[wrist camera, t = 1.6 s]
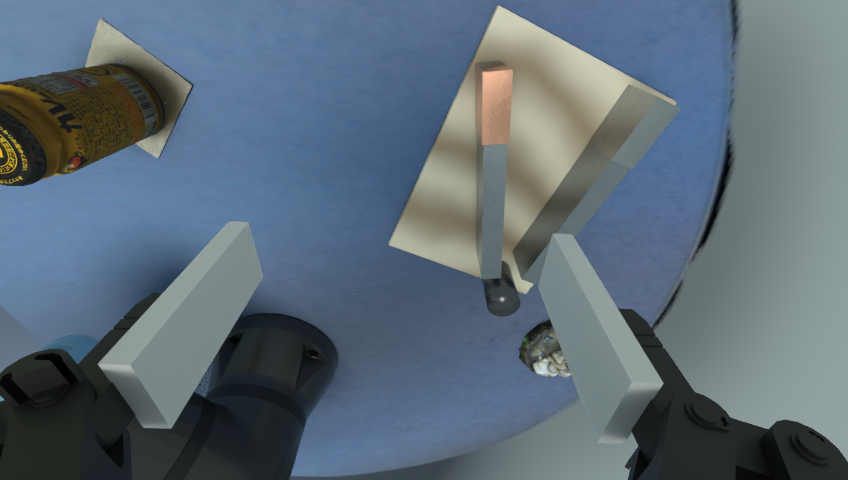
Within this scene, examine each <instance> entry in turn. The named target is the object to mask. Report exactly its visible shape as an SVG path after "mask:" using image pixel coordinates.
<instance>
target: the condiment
mask: <svg viewBox="0 0 848 480" xmlns="http://www.w3.org/2000/svg"><path fill="white" fill-rule="evenodd" d="M121 59H125V60H126V61H124V62H122V61H121ZM117 60H118V61H120V63H117V62H116V61H117ZM191 87H192V85H191V84H189V83H188V82H187V81H185V80H184V79H183V78H182V77H181V76H179V75H178V74H177V73H175V72H174V71H173V70H171V69H170V68H168V67H167V66H165V65H164V64H163V63H162V62H161V61H159V60H158V59H156V58H155V57H154V56H152V55H151V54H150V53H148V52H147V51H145V50H144V49H143V48H142V47H141V46H139V45H137V44H136V43H134V42H133V41H131V40H130V39H128V38H127V37H126V36H125V35H123V34H122V33H121V32H119V31H118V30H116V29H114V28H113V27H112V26H110V25H109V24H107V23H106V22H105V21H103V20H102V19H101V18H100V19H99V22H98V25H97V28H96V32H95V35H94V38H93V40H92V45H91V48H90V50H89V55H88V57H87V62H86V66H85V67H83V68H80V69H74V70H69V71H67V72H52V73H51V74H48V75H39V76H37V77H28V78H22V79H18V80H15V81H7V82H1V83H0V184H1V185H6V186H25V185H29V184H33V183H35V182H37V181H39V180H41V179H44V178H48V177H50V176H52V175H63V174H69V173H71V172H74V171H77V170H79V169H81V168H83V167H85V166H87V165H89V164H91V163H94V162H96V161H98V160H100V159H102V158H104V157H107V156H109V155H111V154H113V153H115V152H118V151H120V150H122V149H124V148H126V147H128V146H130V145H133V144H136V145H138V146H139V147H141V148H142V149H144V150H145V151H147V152H148V153H150V154H151V155H153V156H155V157H156V158H158V157H159V155H160V153H161V151H162V149H163V147H164V145H165V143H166V141H167V139H168V137H169V135H170V133H171V130H172V129H173V126H174V124H175V122H176V119H177V116H178V115H179V113H180V111H181V109H182V107H183V105H184V103H185V100H186V97H187V95H188V93H189V91H190V89H191ZM165 103H166V104H165Z"/></svg>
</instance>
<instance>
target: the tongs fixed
mask: <svg viewBox="0 0 848 480" xmlns="http://www.w3.org/2000/svg"><path fill="white" fill-rule="evenodd" d="M679 111H680V108H679V107H677V106H675V105H673V104H671V103H669V102H667V101H666V100H664V99H662V98H660V97H658V96H655V95H653V94H651V93H648V92H646V91H643V90H641V89H639V88H636V87H634V86H631V85H629V84H628V86H627V87H626V89H625V90H624V91H623V93H622V94H621V96H620V97H619V99H618V100H617V101H616V103H615V104H614V106H613V107H612V109H611V110H610V112H609V113H608V114H607V116H606V117H605V119H604V120H603V122H602V123H601V124H600V126H599V127H598V129H597V130H596V132H595V133H594V134H593V136H592V137H591V139H590V140H589V141H590V142H589V143H588V145H587V146H586V148H585V149H584V150H583V152H582V153H581V155H580V156H579V158H578V159H577V160H576V162H575V163H574V165H573V166H572V168H571V169H570V170H569V172H568V173H567V175H566V176H565V177H564V179H563V180H562V182H561V183H560V185H559V186H558V187H557V189H556V190H555V192H554V193H553V195H552V196H551V197H550V199H549V200H548V202H547V203H546V205H545V206H544V207H543V209H542V210H541V212H540V213H539V215H538V216H537V217H536V219H535V220H534V222H533V223H532V225H531V226H530V227H529V229H528V230H527V232H526V233H525V234H524V236H523V237H522V239H521V240H520V242H519V243H518V244H517V246H516V247H515V249H514V250H513V252H512V253H513V256H514V259H515V262H516V265H517V268H518V271H519V274H520V277H521V279H522V280H525V281H527V282H530V283H533V284H535V285H538V284H539V281H540V277H541V274H542V270H543V266H544V263H545V259H546V256H547V252H548V248H549V245H550V241H551V237H552V234H553V233H554V234H572V235H573V237H574V238H575V237H576V236H577V235H578V234H579V232H580V231H581V230H582V229H583V227H584V226H585V225H586V224H587V222H588V221H589V220H590V219H591V217H592V216H593V215H594V214H595V212H596V211H597V210H598V209H599V207H600V206H601V205H602V204H603V202H604V201H605V200H606V199H607V197H608V196H609V195H610V194H611V192H612V191H613V190H614V189H615V187H616V186H617V185H618V184H619V182H620V181H621V180H622V179H623V177H624V176H625V175H626V174H627V172H628V171H629V170H630V169H631V170H632V169H633V168H634V167H635V165H636V164H637V163H638V162H639V160H640V159H641V158H642V157H643V155H644V154H645V153H646V152H647V151H648V149H649V148H650V147H651V146H652V144H653V143H654V142H655V141H656V139H657V138H658V137H659V136H660V134H661V133H662V132H663V131H664V129H665V128H666V127H667V126H668V124H669V123H670V122H671V121H672V119H673V118H674V117H675V116H676V114H677V113H678V112H679ZM482 281H483V287H484V292H485V297H486V303H487V308H488V310H489V311H490V312H491V313H492V314H494V315H496V316H508V315H511V314H513V313H514V312H516V311H517V310H518V308H519V307H520V299H519V296H518V293H517V289H516V286H515V283H514V279H513V276H512V273H511V269H510V266H509V265H508V264H507V263H506V262H505V261H502V267H501V278H492V279H482Z"/></svg>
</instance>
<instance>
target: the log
mask: <svg viewBox="0 0 848 480" xmlns="http://www.w3.org/2000/svg"><path fill="white" fill-rule="evenodd" d="M519 351H520V356H519V359H521V360H522V361H523V363H524V364H525V365H526V366H527V367H528V368H529V369H530V370H531V371H532V372H535V373H537V374H539V375H542V376H549V377H551V378H552V377H554V376H556V375H557V374H559V375H560V376H561V377H568V376H569V375H571V373H570V370H569V368H568V365H567V362H566V360H565V357H564V354H563V352H562V349H561V347H560V344H559V341H558V339H557V336H556V333H555V331H554V328H553V325H552V323H551V321H548V322H544V323H540V324H539V325H537V326H536V327H535V328H534V329H533V330H531V331H530V332H529V333H528V334H527V335H526V336H525V337H524V339H523V343H522V346H521V347H520V349H519Z"/></svg>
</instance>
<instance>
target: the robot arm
mask: <svg viewBox="0 0 848 480" xmlns="http://www.w3.org/2000/svg"><path fill="white" fill-rule="evenodd" d="M262 278H263V274H262V270H261V266H260V263H259V259H258V255H257V251H256V248H255V244H254V240H253V237H252V233H251V229H250V226H249V222H234V221H229V222H228V223H227V224H226V225H225V226H224V227H223V228H222V229H221V230H220V231H219V233H218V234H217V235H216V236H215V237H214V238H213V239H212V240H211V241H210V242H209V243H208V244H207V246H206V247H205V248H204V249H203V250H202V251H201V252H200V253H199V254H198V255H197V256H196V258H195V259H194V260H193V261H192V262H191V263H190V264H189V265H188V266H187V267H186V268H185V269H184V271H183V272H182V273H181V274H180V275H179V276H178V277H177V278H176V279H175V280H174V281H173V283H172V284H171V285H170V286H169V287H168V288H167V289H166V290H165V291H164V292H163V293H153V294H151V295H150V296H148V297H147V298H145V299H144V300H142V301H140V302H139V303H137V304H136V305H135V306H134V307H133V308H132V309H131V310H130V311H129V312H128V313H127V314H126V315H125V316H124V319H121V320H120V321H119V322H118V323H117V324H116V325H115V326H114V329H113V330H111V331H110V332H109V333H108V334H107V335H106V336H105V337H104V338H103V339H102V340H101V341H98V340H96V339H94V338H91V337H89V336H84V335H70V336H66V337H62V338H60V339H57V340H55V341H53V342H52V343H50V344H49V345H47V346H45V347H44V348H42V349H41V350H40V351H38V352H35V353H33V354H30V355H28V356H26V357H24V358H21V359H19V360H18V361H16V362H15V363H13V364H11V365H10V366H8V367H7V368H6V369H4V370H3V371H2V372H1V373H0V480H289V479H290V476H291V473H292V469H293V466H294V462H295V459H296V455H297V452H298V448H299V445H300V442H301V438H302V434H303V431H304V428H305V424H306V421H307V418H308V416H309V415H310V414H311V412H312V411H313V409H314V408H315V406H316V405H317V403H318V402H319V400H320V399H321V397H322V396H323V394H324V393H325V391H326V390H327V388H328V387H329V385H330V384H331V381H332V379H333V376H334V372H335V368H336V364H337V355H336V351H335V349H334V347H333V345H332V344H331V342H330V341H329V340H328V339H327V337H326V336H325V335H323V334H322V333H321V332H320V331H318V330H317V329H316V328H314V327H312V326H311V325H309V324H307V323H305V322H302V321H300V320H297V319H294V318H291V317H287V316H282V315H274V314H259V315H253V316H248V317H245V318H242V319H240V320H238V318H239V316H240V315H241V313H242V311H243V310H244V308H245V306H246V305H247V303H248V302H249V300H250V298H251V297H252V295H253V293H254V292H255V290H256V288H257V287H258V285H259V283H260V282H261V280H262ZM538 289H539V291H540V294H541V297H542V299H543V302H544V304H545V307H546V310H547V312H548V315H549V318H550V320H551V323H552V325H553V328H554V331H555V333H556V336H557V339H558V341H559V344H560V347H561V349H562V352H563V354H564V357H565V360H566V362H567V365H568V368H569V370H570V373H571V375H572V378H573V381H574V383H575V386H576V389H577V391H578V394H579V396H580V399H581V402H582V404H583V407H584V409H585V412H586V415H587V418H588V420H589V423H590V425H591V428H592V431H593V433H594V436H595V439H596V441H597V443H622V444H624V443H625V441H626V440H627V438H628V437H629V435H630V434H631V432H632V433H633V435H634V437H635V439H636V442H637V444H638V448H637V449H636V450H635V452H634V453H633V455H632V456H631V458H630V459H629V460H628V462H627V464H626V465H625V467H626V468H627V469H630V467H631V469H630V473H629V477H628V480H848V462H847V460H846V459H845V457H844V456H843V455H842V453H841V452H840V451H839V449H838V448H837V447H836V446H835V445H833V444H832V443H831V442H830V441H829V440H828V439H827V438H826V437H824V436H823V435H821V434H820V433H818V432H816V431H815V430H813V429H812V428H809V427H808V426H805V425H803V424H801V423H798V422H794V421H789V420H782V421H777V422H776V423H775V424H774V425H772V426H771V427H770V428H769V429H765V428H762V427H759V426H755V425H752V424H749V423H746V422H742V421H739V420H736V419H733V418H730V417H729V415H728V414H727V412H726V411H725V410H724V409H722V408H721V407H720V406H719V405H718V404H717V403H716V402H714V401H712V400H711V399H709V398H708V397H706V396H704V395H701V394H698V393H695V392H694V391H693V389H692V388H691V386H690V385H689V383H688V382H687V380H686V379H685V377H684V376H683V375H682V373H681V372H680V370H679V369H678V367H677V366H676V364H675V363H674V361H673V360H672V358H671V357H670V356H669V354H668V353H667V351H666V350H665V349H663V345H662V344H661V342H660V341H659V339H658V338H657V337H655V333H654V332H653V330H652V329H651V327H650V326H649V324H648V323H647V322H646V321H645V320H644V319H643V318H642V317H641V316H639V315H638V314H637V313H636V312H635V311H633V310H632V309H618V308H617V307H616V305H615V303H614V302H613V300H612V298H611V297H610V295H609V294H608V292H607V290H606V289H605V287H604V285H603V284H602V282H601V281H600V279H599V277H598V276H597V274H596V272H595V271H594V269H593V268H592V266H591V264H590V263H589V261H588V259H587V258H586V256H585V255H584V253H583V251H582V250H581V248H580V246H579V245H578V243H577V242H576V240H575V238H574V237H573V235H572V234H554V233H553V234H552V237H551V241H550V245H549V248H548V252H547V256H546V259H545V263H544V266H543V270H542V274H541V277H540V281H539V285H538ZM237 320H238V321H237ZM213 359H214V363H213V368H212V373H211V379H210V384H209V389H208V392H207V394H206V396H205V398H204V397H203V396H201V395H199V394H197V393H195V392H194V390H195V389H196V387H197V386H198V384H199V382H200V381H201V379H202V377H203V376H204V374H205V372H206V371H207V369H208V367H209V366H210V364H211V362H212V361H213Z"/></svg>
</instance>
